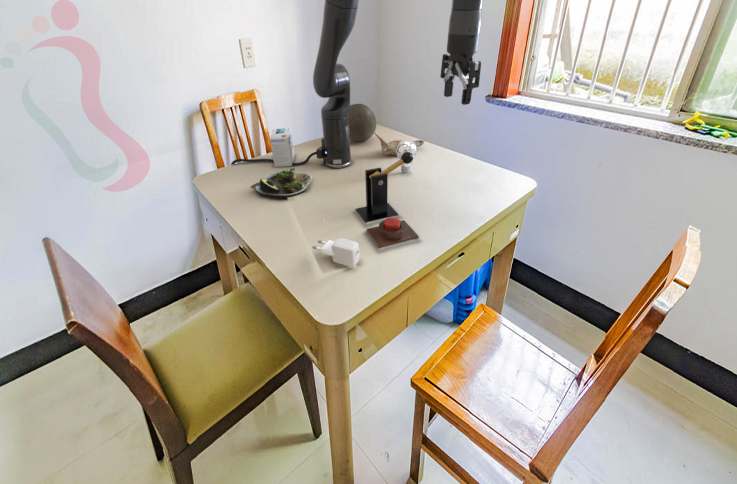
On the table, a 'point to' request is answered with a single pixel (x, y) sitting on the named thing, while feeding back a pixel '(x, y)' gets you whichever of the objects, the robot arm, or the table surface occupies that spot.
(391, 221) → the button
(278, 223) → the table surface
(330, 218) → the table surface
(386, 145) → the oil lamp
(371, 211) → the switch bracket
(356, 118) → the cantaloupe
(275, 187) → the salad plate
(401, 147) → the light bulb
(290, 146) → the light bulb box
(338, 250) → the power adapter
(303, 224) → the table surface
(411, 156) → the lever
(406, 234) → the button block
